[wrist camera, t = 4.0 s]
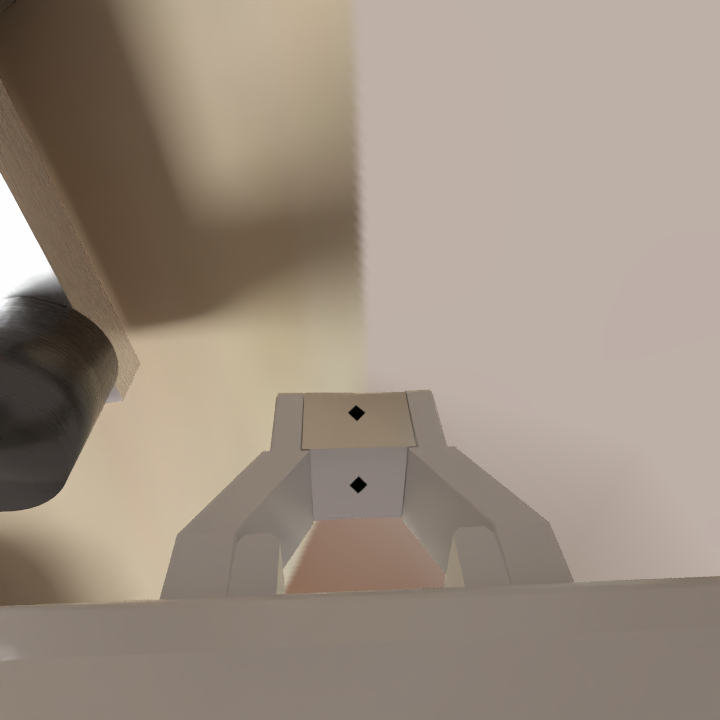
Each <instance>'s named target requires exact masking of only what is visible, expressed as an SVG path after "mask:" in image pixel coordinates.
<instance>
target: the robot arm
mask: <svg viewBox="0 0 720 720" xmlns="http://www.w3.org/2000/svg"><path fill="white" fill-rule="evenodd" d="M348 518H349V519H350V518H402V520H403V522H404V523H405V524H406V525H407V527H408V528H409V529H410V530H411V532H412V533H413V534H414V535H415V537H416V538H417V539H418V540H419V541H420V543H421V544H422V545H423V546H424V548H425V549H426V550H427V551H428V553H429V554H430V555H431V556H432V558H433V559H434V560H435V561H436V563H437V564H438V565H439V566H440V568H441V569H442V570H443V571H444V572H445V574H446V577H445V582H444V587H443V588H425V589H424V588H423V589H401V590H400V589H399V590H375V591H351V592H329V593H328V592H327V593H303V594H285V585H284V575H283V568H284V567H285V565H286V564H287V562H288V561H289V559H290V558H291V556H292V555H293V553H294V552H295V550H296V549H297V547H298V546H299V544H300V543H301V541H302V540H303V538H304V537H305V535H306V534H307V532H308V531H309V529H310V528H311V526H312V525H313V521H318V520H333V519H348ZM0 720H720V576H714V577H688V578H664V579H640V580H617V581H616V580H615V581H591V582H574V580H573V578H572V575H571V573H570V571H569V568H568V566H567V563H566V561H565V559H564V556H563V554H562V551H561V549H560V547H559V544H558V542H557V540H556V537H555V535H554V532H553V530H552V528H551V525H550V523H549V522H548V521H547V520H546V519H544V518H543V517H541V515H539V514H538V513H537V512H536V511H534V510H533V509H532V508H531V507H529V506H528V505H527V504H526V503H524V502H523V501H522V500H520V499H519V498H518V497H517V496H516V495H514V494H513V493H512V492H511V491H509V490H508V489H507V488H506V487H504V486H503V485H502V484H501V483H499V482H498V481H497V480H496V479H494V478H493V477H492V476H491V475H489V474H488V473H487V472H486V471H484V470H483V469H482V468H481V467H479V466H478V465H477V464H476V463H474V462H473V461H472V460H471V459H469V458H468V457H467V456H466V455H465V454H463V453H462V452H461V451H460V450H458V449H457V448H456V447H447V445H446V441H445V437H444V434H443V430H442V426H441V423H440V419H439V415H438V412H437V408H436V405H435V401H434V397H433V394H432V392H431V391H430V390H417V391H405V392H380V393H377V392H376V393H305V394H303V393H278V395H277V397H276V404H275V413H274V422H273V431H272V440H271V449H270V451H265V452H262V453H261V454H260V455H259V456H258V457H256V458H255V459H254V460H253V461H252V462H251V463H250V464H249V465H248V466H247V467H246V468H245V469H244V470H243V471H242V472H241V473H240V474H239V475H238V476H237V477H236V478H235V479H234V480H233V481H232V482H231V483H230V484H229V485H228V486H227V487H226V488H225V489H224V490H223V491H222V492H221V493H220V494H218V495H217V496H216V497H215V498H214V499H213V500H212V501H211V502H210V503H209V504H208V505H207V506H206V507H205V508H204V509H203V510H202V511H201V512H200V513H199V514H198V515H197V516H196V517H195V518H194V519H193V520H192V521H191V522H190V523H189V524H188V525H187V526H186V527H185V528H184V529H183V530H182V531H180V532H179V533H178V534H177V537H176V541H175V545H174V548H173V552H172V556H171V559H170V563H169V567H168V571H167V574H166V578H165V582H164V585H163V589H162V593H161V596H160V599H159V600H135V601H111V602H87V603H63V604H39V605H15V606H0Z"/></svg>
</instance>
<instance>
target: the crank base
mask: <svg viewBox="0 0 720 720" xmlns="http://www.w3.org/2000/svg"><path fill="white" fill-rule="evenodd" d="M15 1H16V0H0V14H1V13H2V12H4V11H5V10H6V9H7V8H8V7H9V6H11V5H12V4H13V3H14V2H15Z"/></svg>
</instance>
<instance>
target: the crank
mask: <svg viewBox="0 0 720 720" xmlns="http://www.w3.org/2000/svg"><path fill="white" fill-rule="evenodd" d="M139 365H140V362H139V360H138V358H137V356H136V354H135V352H134V350H133V348H132V346H131V344H130V342H129V340H128V337H127V335H126V333H125V331H124V329H123V327H122V325H121V323H120V321H119V319H118V317H117V315H116V313H115V311H114V309H113V307H112V305H111V303H110V301H109V299H108V297H107V295H106V293H105V291H104V289H103V287H102V284H101V282H100V280H99V278H98V276H97V274H96V272H95V270H94V268H93V266H92V264H91V262H90V260H89V258H88V256H87V254H86V252H85V250H84V248H83V246H82V244H81V242H80V240H79V238H78V236H77V234H76V231H75V229H74V227H73V225H72V223H71V221H70V219H69V217H68V215H67V213H66V211H65V209H64V207H63V205H62V203H61V201H60V199H59V197H58V195H57V193H56V191H55V189H54V187H53V185H52V183H51V181H50V179H49V176H48V174H47V172H46V170H45V168H44V166H43V164H42V162H41V160H40V158H39V156H38V154H37V152H36V150H35V148H34V146H33V144H32V142H31V140H30V138H29V136H28V134H27V132H26V130H25V128H24V126H23V123H22V121H21V119H20V117H19V115H18V113H17V111H16V109H15V107H14V105H13V103H12V101H11V99H10V97H9V95H8V93H7V91H6V89H5V87H4V85H3V83H2V81H1V79H0V512H2V511H18V510H24V509H29V508H32V507H36V506H39V505H41V504H43V503H45V502H47V501H49V500H50V499H52V498H53V497H55V496H56V495H57V494H58V493H59V492H60V491H61V489H62V488H63V486H64V485H65V483H66V481H67V479H68V477H69V475H70V473H71V471H72V469H73V467H74V465H75V463H76V461H77V459H78V457H79V455H80V453H81V451H82V449H83V447H84V445H85V443H86V441H87V439H88V437H89V435H90V433H91V431H92V429H93V427H94V425H95V423H96V421H97V419H98V417H99V415H100V413H101V411H102V409H103V407H104V405H105V403H111V402H117V401H123V400H124V397H125V395H126V393H127V391H128V389H129V387H130V384H131V382H132V380H133V378H134V376H135V373H136V371H137V369H138V367H139Z"/></svg>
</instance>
